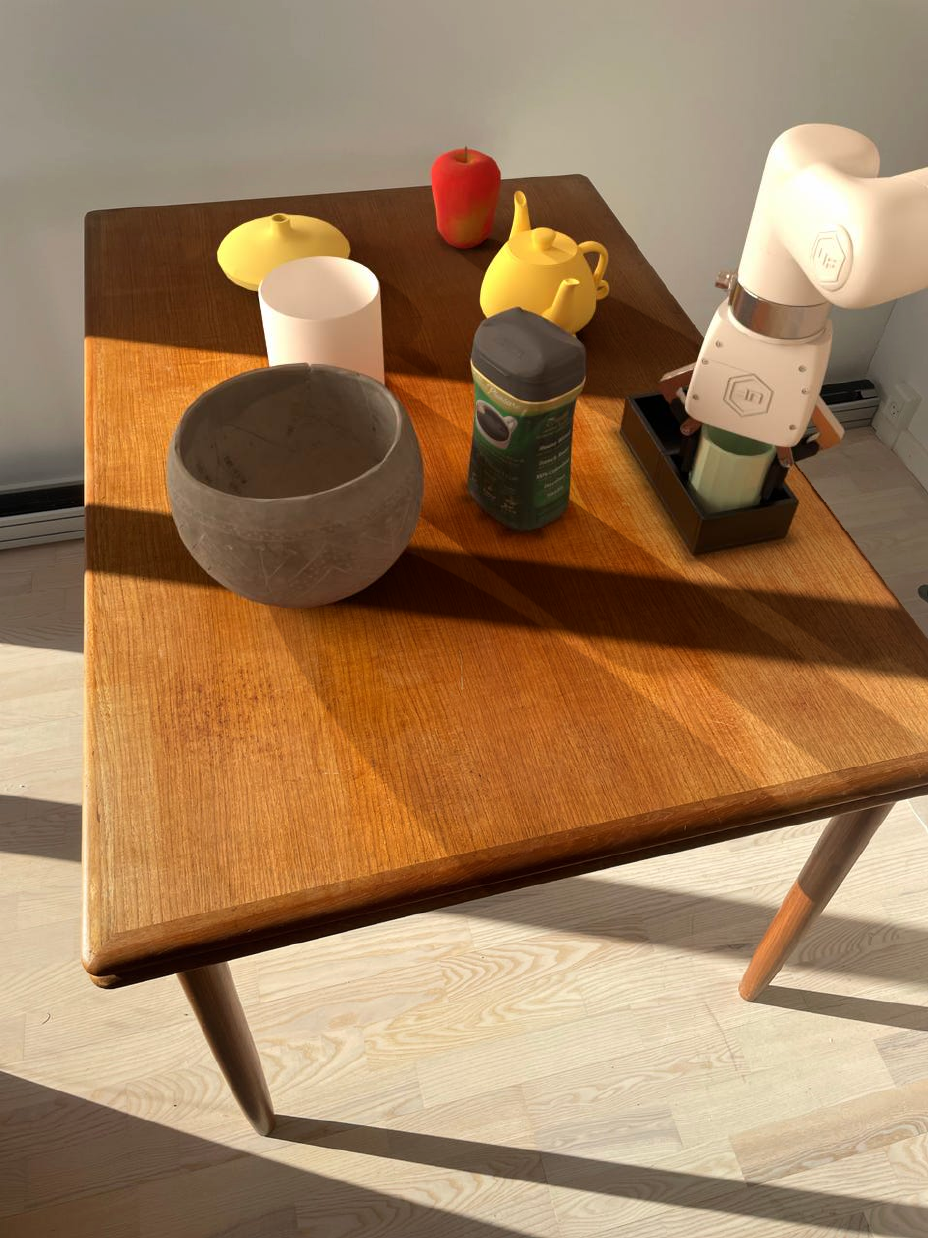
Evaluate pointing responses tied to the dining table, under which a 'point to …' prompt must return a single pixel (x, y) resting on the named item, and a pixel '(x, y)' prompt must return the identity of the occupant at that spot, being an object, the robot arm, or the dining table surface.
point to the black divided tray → (657, 453)
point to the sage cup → (729, 470)
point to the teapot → (544, 275)
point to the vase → (276, 246)
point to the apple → (465, 196)
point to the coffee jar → (523, 417)
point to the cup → (323, 315)
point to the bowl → (296, 483)
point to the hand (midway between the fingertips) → (728, 475)
